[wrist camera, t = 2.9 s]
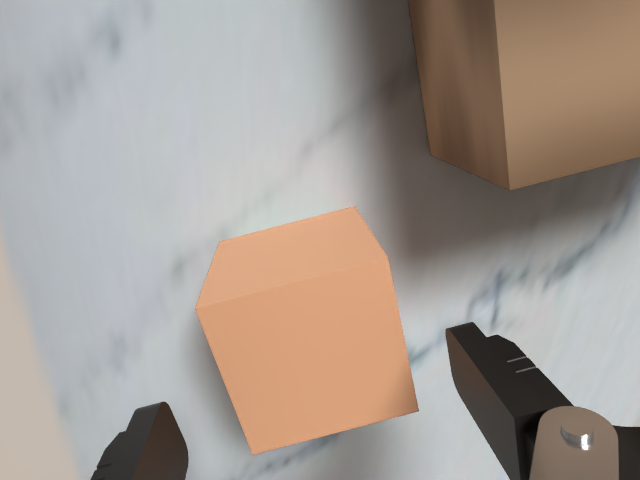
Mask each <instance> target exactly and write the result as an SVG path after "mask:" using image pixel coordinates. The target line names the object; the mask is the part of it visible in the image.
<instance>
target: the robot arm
mask: <svg viewBox="0 0 640 480" xmlns="http://www.w3.org/2000/svg"><path fill="white" fill-rule="evenodd" d="M446 340H447V347H448V353H449V359H450V366H451V372H452V377H453V380H454V384H455V386H456V389H457V391H458V393H459V395H460V397H461V399H462V401H463V402H464V404H465V406H466V407H467V409H468V410H469V412H470V414H471V415H472V417H473V419H474V420H475V422H476V424H477V425H478V427H479V429H480V430H481V432H482V434H483V435H484V437H485V439H486V440H487V442H488V444H489V445H490V447H491V449H492V450H493V452H494V454H495V455H496V457H497V459H498V460H499V462H500V463H501V465H502V467H503V468H504V470H505V472H506V473H507V475H508V477H509V478H510V480H640V427H621V426H614V425H611V424H610V422H609V421H607V420H606V419H605V418H604V417H602V416H601V415H599V414H597V413H595V412H593V411H591V410H588V409H585V408H581V407H575V406H573V404H572V403H571V402H570V401H569V400H568V399H567V398H566V397H565V396H564V395H563V394H562V393H561V392H560V391H559V390H558V389H557V388H556V387H555V385H554V384H553V383H552V382H551V381H550V380H549V379H548V378H547V377H546V376H545V375H544V374H543V373H542V372H541V371H540V370H539V369H538V368H536V366H535V364H534V363H533V362H532V361H531V360H530V359H529V358H527V357H526V355H525V354H524V353H523V352H522V351H521V350H520V349H519V347H518V346H517V345H516V344H515V343H513V342H511V341H509V340H507V339H505V338H503V337H501V336H499V335H494V336H490V337H486V336H485V335H484V334H483V333H482V332H481V330H480V329H479V328H478V327H477V326H476V325H475V324H474V323H473V322H470V323H466V324H462V325H458V326H455V327H451V328H447V329H446ZM187 468H188V450H187V446H186V443H185V440H184V438H183V436H182V433H181V431H180V429H179V427H178V424H177V422H176V420H175V418H174V415H173V413H172V411H171V409H170V407H169V405H168V404H167V403H166V402H161V403H157V404H153V405H149V406H145V407H142V408H138V409H136V410H135V412H134V414H133V416H132V418H131V420H130V423H129V425H128V427H127V430H126V431H124V432H120V433H119V434H118V435H117V436H116V437H115V439H114V440H113V441H112V442H111V443H110V444H109V446H108V447H107V448H106V449H105V451H104V453H103V455H102V457H101V459H100V461H99V463H98V465H97V470H95V472H94V474H93V476H92V478H91V480H185V477H186V473H187Z"/></svg>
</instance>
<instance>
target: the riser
mask: <svg viewBox="0 0 640 480" xmlns="http://www.w3.org/2000/svg"><path fill="white" fill-rule="evenodd" d="M408 4H409V11H410V18H411V25H412V32H413V39H414V45H415V52H416V59H417V66H418V73H419V79H420V86H421V93H422V100H423V107H424V114H425V120H426V127H427V134H428V141H429V148H430V154H431V155H432V156H434V157H436V158H439V159H441V160H443V161H445V162H447V163H450V164H452V165H454V166H456V167H459V168H461V169H463V170H465V171H467V172H470V173H472V174H474V175H476V176H479V177H481V178H483V179H485V180H488V181H490V182H492V183H494V184H496V185H499V186H501V187H503V188H505V189H508V190H514V189H518V188H522V187H526V186H529V185H533V184H537V183H541V182H545V181H549V180H553V179H556V178H560V177H564V176H568V175H572V174H576V173H580V172H583V171H587V170H591V169H595V168H599V167H603V166H607V165H611V164H614V163H618V162H622V161H626V160H630V159H634V158H638V157H640V0H408Z"/></svg>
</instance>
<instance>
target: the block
mask: <svg viewBox="0 0 640 480" xmlns="http://www.w3.org/2000/svg"><path fill="white" fill-rule="evenodd" d="M195 310H196V312H197V315H198V317H199V320H200V323H201V325H202V328H203V330H204V333H205V335H206V338H207V340H208V343H209V345H210V348H211V350H212V353H213V356H214V358H215V361H216V363H217V366H218V368H219V371H220V373H221V376H222V378H223V381H224V383H225V386H226V389H227V391H228V394H229V396H230V399H231V401H232V404H233V406H234V409H235V411H236V414H237V416H238V419H239V422H240V424H241V427H242V429H243V432H244V434H245V437H246V439H247V442H248V444H249V447H250V449H251V452H252V455H255V454H258V453H262V452H266V451H270V450H273V449H277V448H281V447H285V446H289V445H292V444H296V443H300V442H304V441H308V440H311V439H315V438H319V437H323V436H327V435H330V434H334V433H338V432H342V431H346V430H349V429H353V428H357V427H361V426H365V425H368V424H372V423H376V422H380V421H383V420H387V419H391V418H395V417H399V416H402V415H406V414H410V413H414V412H418V411H419V409H418V404H417V399H416V394H415V389H414V384H413V379H412V374H411V369H410V364H409V359H408V354H407V349H406V345H405V340H404V335H403V330H402V325H401V320H400V315H399V310H398V305H397V300H396V295H395V290H394V285H393V280H392V275H391V270H390V265H389V260H388V257H387V255H386V254H385V252H384V251H383V249H382V248H381V246H380V245H379V243H378V241H377V240H376V238H375V237H374V235H373V234H372V232H371V231H370V229H369V227H368V226H367V224H366V223H365V221H364V220H363V218H362V217H361V215H360V213H359V212H358V210H357V209H356V207H355V206H354V207H350V208H346V209H342V210H338V211H334V212H331V213H327V214H323V215H319V216H315V217H311V218H308V219H304V220H300V221H296V222H292V223H288V224H285V225H281V226H277V227H273V228H269V229H265V230H262V231H258V232H254V233H250V234H246V235H242V236H239V237H235V238H231V239H227V240H223V241H219V244H218V247H217V250H216V252H215V255H214V258H213V261H212V263H211V266H210V269H209V271H208V274H207V277H206V280H205V282H204V285H203V288H202V291H201V293H200V296H199V299H198V302H197V304H196V307H195Z"/></svg>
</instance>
